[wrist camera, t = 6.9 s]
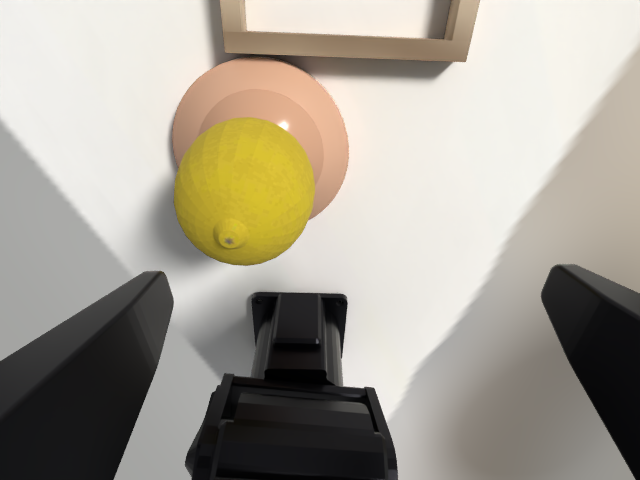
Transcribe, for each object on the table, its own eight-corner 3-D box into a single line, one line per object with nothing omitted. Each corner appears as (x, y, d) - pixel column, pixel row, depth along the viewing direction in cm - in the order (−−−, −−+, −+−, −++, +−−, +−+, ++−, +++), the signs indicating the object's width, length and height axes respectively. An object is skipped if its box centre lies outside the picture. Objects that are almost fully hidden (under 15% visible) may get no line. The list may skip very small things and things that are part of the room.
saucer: (341, 225, 21) (342, 233, 21) (192, 221, 21) (187, 229, 20) (354, 60, 17) (356, 62, 16) (161, 52, 16) (153, 54, 16)
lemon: (191, 176, 19) (121, 267, 12) (231, 76, 16) (169, 121, 9) (285, 220, 20) (270, 324, 13) (335, 135, 18) (347, 211, 11)
